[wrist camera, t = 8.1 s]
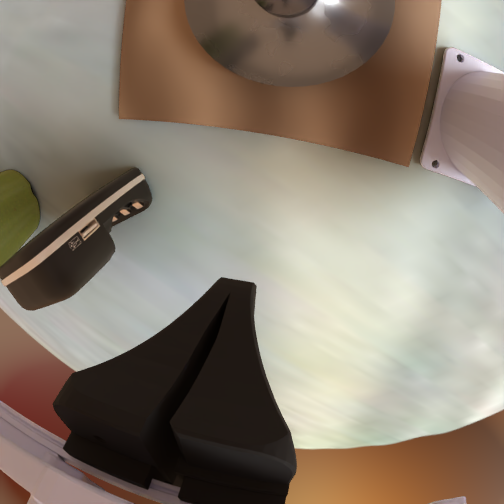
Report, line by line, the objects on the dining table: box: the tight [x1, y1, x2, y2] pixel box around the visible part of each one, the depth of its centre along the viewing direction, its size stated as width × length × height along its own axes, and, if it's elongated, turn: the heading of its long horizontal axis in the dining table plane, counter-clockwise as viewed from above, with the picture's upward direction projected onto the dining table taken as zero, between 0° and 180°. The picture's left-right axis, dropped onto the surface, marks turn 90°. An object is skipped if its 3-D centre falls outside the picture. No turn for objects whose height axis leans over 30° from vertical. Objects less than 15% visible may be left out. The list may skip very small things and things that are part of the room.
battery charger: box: [0, 168, 152, 311], centre depth 19 cm, size 7×4×11 cm, turn 116°
